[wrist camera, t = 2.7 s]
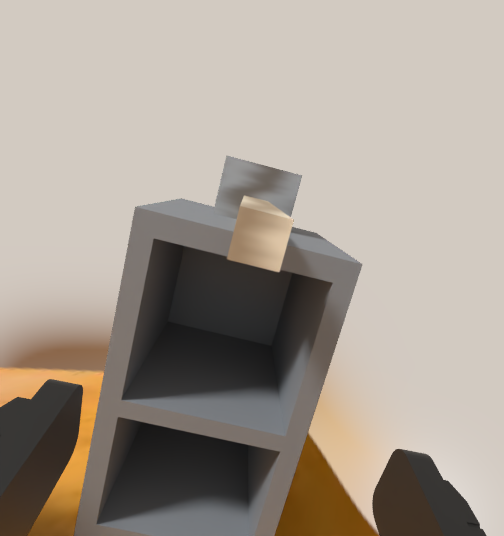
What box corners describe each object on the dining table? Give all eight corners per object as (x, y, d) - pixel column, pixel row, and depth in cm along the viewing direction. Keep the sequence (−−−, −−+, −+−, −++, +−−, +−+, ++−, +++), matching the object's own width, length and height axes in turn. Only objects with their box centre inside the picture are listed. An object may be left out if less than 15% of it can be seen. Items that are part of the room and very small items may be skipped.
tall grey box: (71, 545, 35) (135, 206, 28) (135, 415, 54) (181, 198, 48) (259, 581, 36) (362, 264, 29) (255, 441, 55) (316, 233, 49)
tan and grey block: (171, 245, 18) (198, 114, 16) (217, 209, 45) (229, 159, 44) (332, 285, 18) (371, 161, 17) (281, 226, 45) (294, 177, 44)
